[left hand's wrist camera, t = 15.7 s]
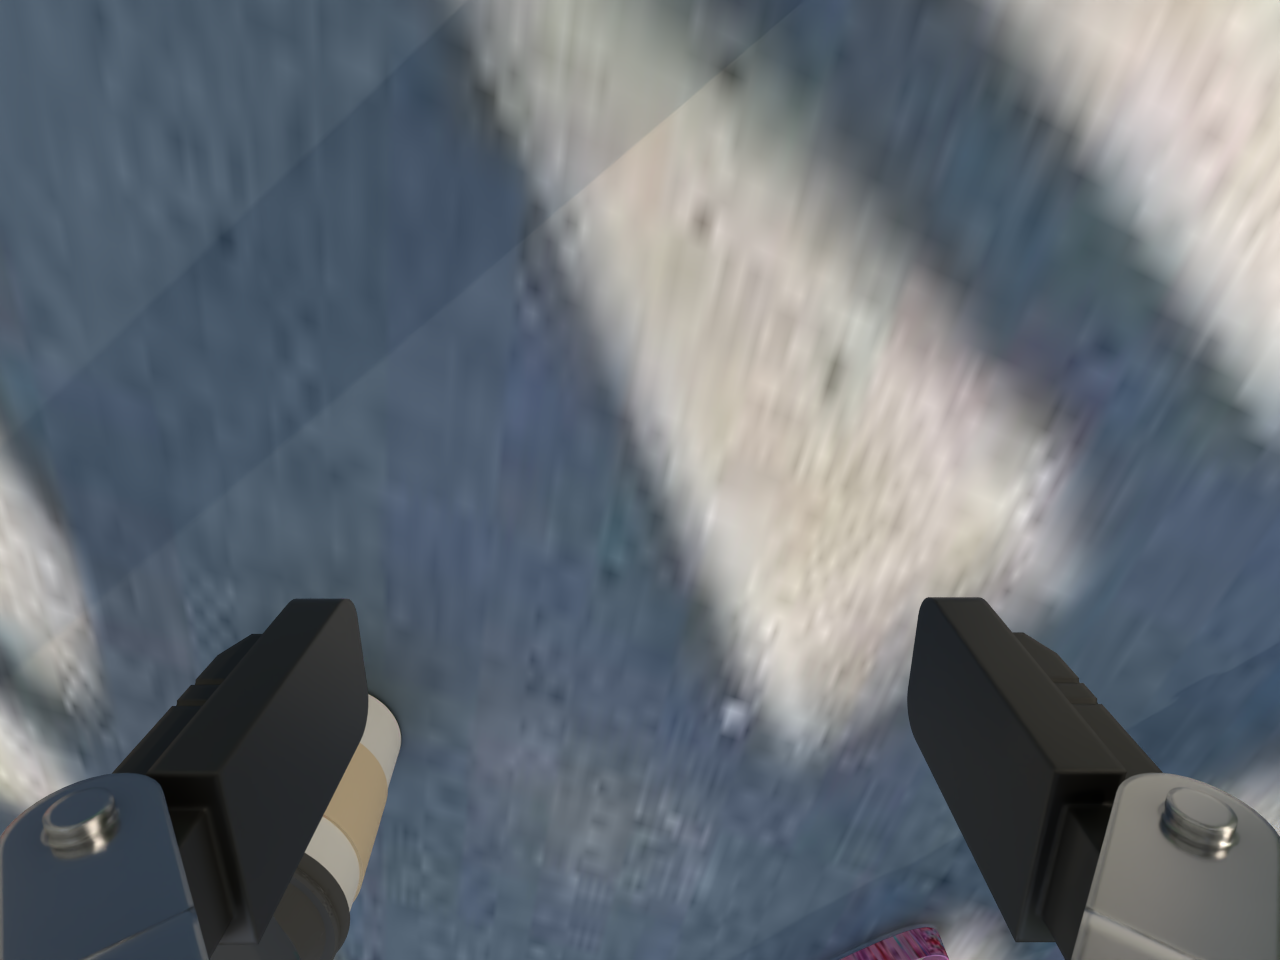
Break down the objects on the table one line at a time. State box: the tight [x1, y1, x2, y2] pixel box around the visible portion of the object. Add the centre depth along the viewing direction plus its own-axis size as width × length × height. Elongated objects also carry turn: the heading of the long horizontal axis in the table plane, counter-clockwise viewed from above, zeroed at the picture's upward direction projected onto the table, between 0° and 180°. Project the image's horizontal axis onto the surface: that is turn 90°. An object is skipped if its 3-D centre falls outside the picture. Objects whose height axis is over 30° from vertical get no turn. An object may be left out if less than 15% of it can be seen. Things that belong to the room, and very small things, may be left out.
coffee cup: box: [210, 694, 401, 960], centre depth 41 cm, size 9×9×15 cm
